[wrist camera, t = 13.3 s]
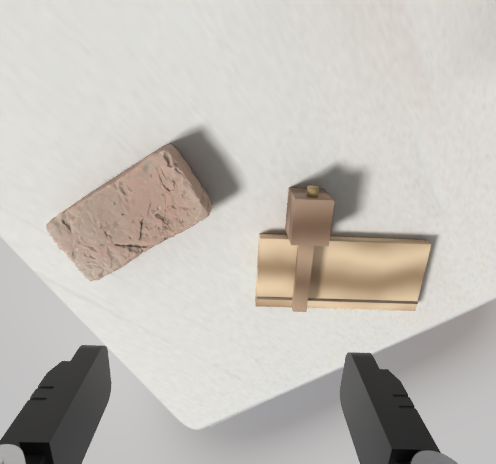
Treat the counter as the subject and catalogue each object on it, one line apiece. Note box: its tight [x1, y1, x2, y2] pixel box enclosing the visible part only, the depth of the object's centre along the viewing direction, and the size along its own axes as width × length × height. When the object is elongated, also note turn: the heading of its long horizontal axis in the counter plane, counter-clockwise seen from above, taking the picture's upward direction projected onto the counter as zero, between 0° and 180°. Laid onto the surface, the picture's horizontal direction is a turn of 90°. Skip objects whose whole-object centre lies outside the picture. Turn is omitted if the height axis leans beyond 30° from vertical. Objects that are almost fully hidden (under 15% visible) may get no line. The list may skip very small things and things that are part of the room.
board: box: [255, 234, 431, 311], centre depth 44 cm, size 9×20×2 cm, turn 87°
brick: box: [46, 144, 211, 281], centre depth 39 cm, size 16×8×5 cm, turn 121°
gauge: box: [285, 185, 335, 312], centre depth 41 cm, size 15×4×5 cm, turn 177°
